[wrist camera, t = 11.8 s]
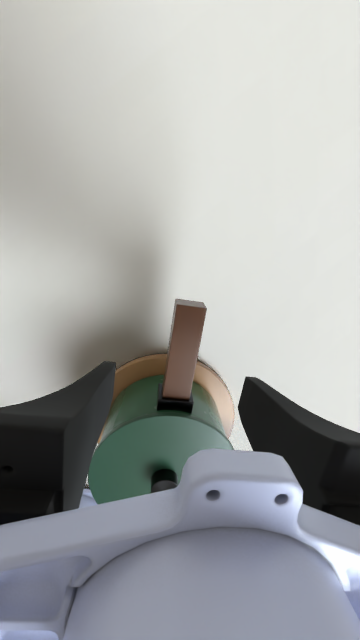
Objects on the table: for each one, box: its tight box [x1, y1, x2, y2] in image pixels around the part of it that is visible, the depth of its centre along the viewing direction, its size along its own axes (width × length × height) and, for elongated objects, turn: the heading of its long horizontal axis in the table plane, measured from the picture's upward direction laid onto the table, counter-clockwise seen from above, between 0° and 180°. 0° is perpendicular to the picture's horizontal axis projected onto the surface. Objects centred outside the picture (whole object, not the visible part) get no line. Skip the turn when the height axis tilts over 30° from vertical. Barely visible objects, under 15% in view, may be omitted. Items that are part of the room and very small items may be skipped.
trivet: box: [98, 354, 234, 444], centre depth 26 cm, size 14×14×1 cm
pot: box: [88, 299, 234, 504], centre depth 21 cm, size 19×11×7 cm, turn 171°
